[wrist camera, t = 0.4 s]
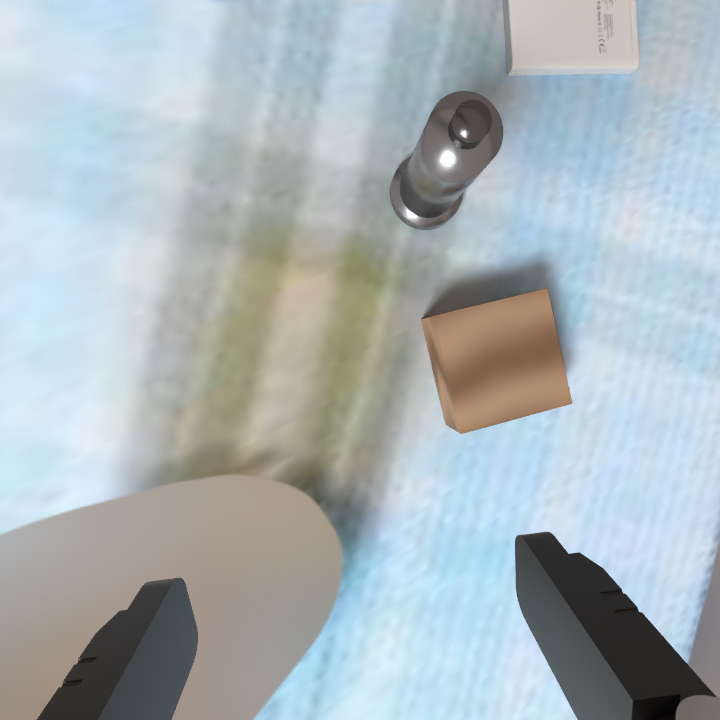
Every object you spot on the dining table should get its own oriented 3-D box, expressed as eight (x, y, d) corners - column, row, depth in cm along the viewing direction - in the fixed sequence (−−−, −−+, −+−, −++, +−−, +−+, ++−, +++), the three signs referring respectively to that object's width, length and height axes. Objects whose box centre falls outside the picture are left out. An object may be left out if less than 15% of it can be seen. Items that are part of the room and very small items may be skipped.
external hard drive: (498, -10, 35) (622, -9, 36) (504, 80, 35) (627, 78, 36) (507, -28, 33) (636, -26, 35) (513, 67, 34) (641, 65, 35)
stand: (421, 319, 35) (433, 315, 31) (522, 295, 35) (547, 288, 31) (445, 424, 35) (461, 433, 31) (544, 397, 36) (572, 403, 32)
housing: (382, 166, 34) (411, 76, 23) (449, 152, 34) (510, 57, 23) (399, 236, 34) (435, 181, 23) (465, 221, 35) (532, 161, 24)
